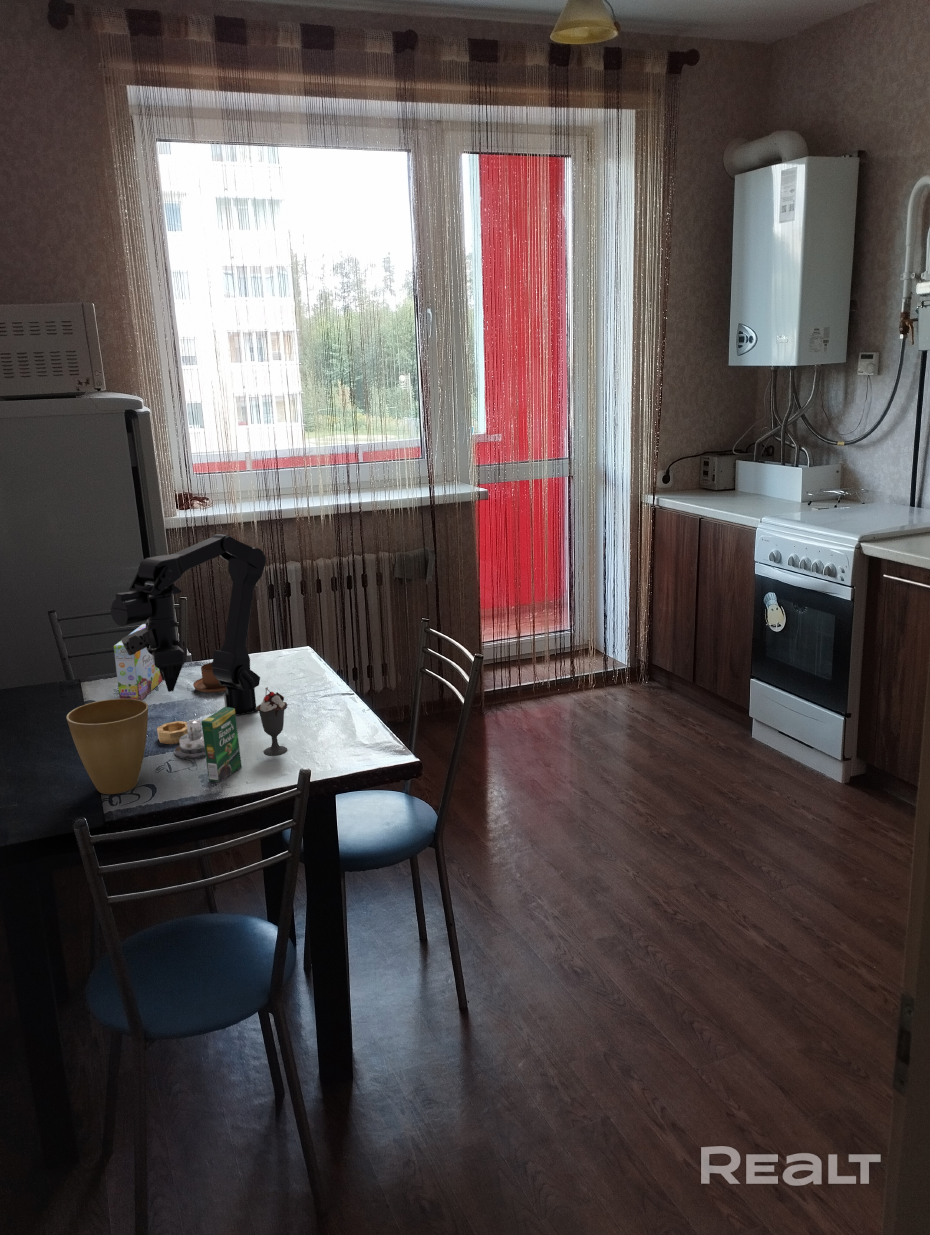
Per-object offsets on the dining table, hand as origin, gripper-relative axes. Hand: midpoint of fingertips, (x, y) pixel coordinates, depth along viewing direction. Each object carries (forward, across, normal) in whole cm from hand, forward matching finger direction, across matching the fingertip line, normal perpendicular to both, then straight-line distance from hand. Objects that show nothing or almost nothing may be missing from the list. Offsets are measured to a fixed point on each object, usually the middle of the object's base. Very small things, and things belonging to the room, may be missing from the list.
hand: (167, 685), depth 211 cm
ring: (+12, 0, +1) cm, 12 cm away
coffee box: (+13, +26, +7) cm, 30 cm away
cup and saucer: (+12, -30, +15) cm, 36 cm away
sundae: (+12, +19, +19) cm, 29 cm away
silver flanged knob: (+12, +10, +4) cm, 16 cm away
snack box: (+12, -39, -2) cm, 41 cm away
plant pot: (+13, +21, -13) cm, 28 cm away
